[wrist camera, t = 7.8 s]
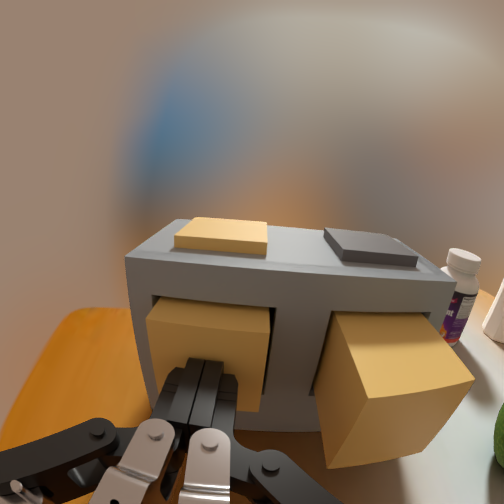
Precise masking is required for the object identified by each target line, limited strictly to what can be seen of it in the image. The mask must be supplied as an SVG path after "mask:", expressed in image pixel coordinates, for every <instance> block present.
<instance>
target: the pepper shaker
mask: <svg viewBox="0 0 504 504" xmlns="http://www.w3.org/2000/svg"><path fill="white" fill-rule="evenodd" d="M482 326H483V332H484V333H485V334H486V335H487V336H488V337H489V338H491V339H492V340H494V341H497V342H500V343H503V344H504V279H503V282H502V284H501V287H500V289H499V291H498V293H497V295H496V298H495V300H494V302H493V304H492V306H491V308H490V310H489V312H488V314H487V316H486V318H485V320H484V322H483V324H482Z"/></svg>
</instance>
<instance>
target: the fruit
mask: <svg viewBox="0 0 504 504" xmlns="http://www.w3.org/2000/svg"><path fill="white" fill-rule="evenodd" d="M494 452H495V455H496V458H497V461H498V463H499V464H500V465H501V466H502V467H503V468H504V403H503V405H502V407H501V409H500V411H499V414H498V417H497V420H496V423H495V430H494Z"/></svg>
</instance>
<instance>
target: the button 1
mask: <svg viewBox="0 0 504 504" xmlns="http://www.w3.org/2000/svg"><path fill="white" fill-rule="evenodd" d="M146 327H147V334H148V340H149V346H150V352H151V358H152V364H153V369H154V374H155V379H156V384H157V389H158V393H159V394H160V392H161V391H162V387H163V385H164V382H165V380H166V378H167V375H168V373H170V372H171V371H172V370H173V369H174V368H175V367H180V368H185V366H186V363H187V360H188V358H189V357H190V358H197V359H205V360H213V361H222V362H224V374H234V375H235V377H236V379H237V381H238V398H237V410H236V411H247V412H259V406H260V399H261V392H262V386H263V379H264V372H265V365H266V357H267V350H268V343H269V335H270V321H269V307H263V306H251V305H239V304H229V303H218V302H209V301H200V300H191V299H182V298H174V297H166V296H161V297H160V299H159V300H158V302H157V303H156V304H155V306H154V307H153V309H152V310H151V311H150V313H149V314H148V316H147V317H146Z"/></svg>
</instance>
